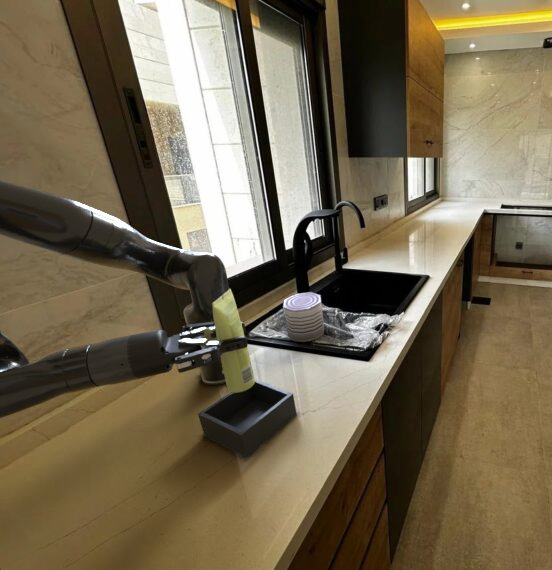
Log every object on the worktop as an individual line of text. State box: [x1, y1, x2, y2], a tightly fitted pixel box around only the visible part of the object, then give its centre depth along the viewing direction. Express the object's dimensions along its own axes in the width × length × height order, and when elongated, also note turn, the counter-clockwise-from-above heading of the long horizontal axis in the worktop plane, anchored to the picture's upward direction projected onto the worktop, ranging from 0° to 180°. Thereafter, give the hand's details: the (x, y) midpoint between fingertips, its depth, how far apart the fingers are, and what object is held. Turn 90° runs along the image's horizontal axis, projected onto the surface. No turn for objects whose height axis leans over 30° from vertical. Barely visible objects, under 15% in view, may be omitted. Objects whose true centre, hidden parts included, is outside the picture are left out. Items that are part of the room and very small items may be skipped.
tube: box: [212, 288, 256, 393], centre depth 62 cm, size 6×5×20 cm
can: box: [282, 291, 325, 343], centre depth 104 cm, size 11×11×12 cm
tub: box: [197, 378, 298, 459], centre depth 69 cm, size 13×13×6 cm
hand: (245, 333), depth 63 cm, fingers closed on tube, 5 cm apart
